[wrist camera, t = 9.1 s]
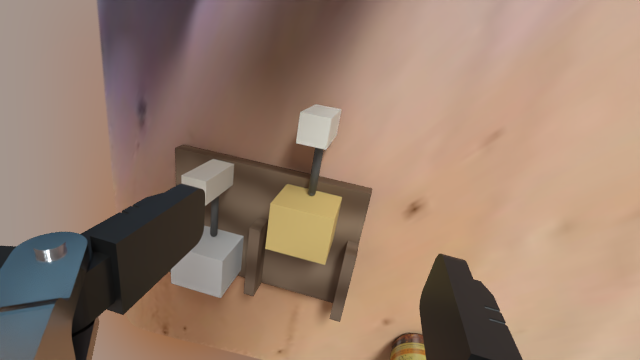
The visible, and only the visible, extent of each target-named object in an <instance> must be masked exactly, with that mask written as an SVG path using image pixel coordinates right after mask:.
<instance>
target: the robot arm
mask: <svg viewBox="0 0 640 360" xmlns="http://www.w3.org/2000/svg"><path fill="white" fill-rule="evenodd" d="M204 220H205V192H204V190H203V189H201V188H197V187H193V186H189V185H186V184H179V185H177V186H175V187H173V188H172V189H170V190H168V191H166V192H165V193H161V194H157V195H154V196H150V197H147V198H145V199H143V200H141V201H139V202H137V203H136V204H134V205H133V207H131V206H130V207H128V208H127V209H125V210H123V211H122V213H120V212H119V213H118V214H116V215H114V216H112V217H110V218H109V219H107V220H105V221H103V222H101V223H100V224H98V225H96V226H94V227H92V228H91V229H89V230H87V231H85V232H84V233H82V234H77V233H73V232H55V233H49V234H44V235H40V236H37V237H34V238H31V239H29V240H27V241H25V242H23V243H22V244H20V245H18V246H17V247H13V246H0V360H92V356H93V351H94V346H95V341H96V336H97V330H98V326H99V319H98V316H99V315H100V314H101V313H103V311H105V310H106V309H107V310H110V311H114V312H116V313H119V314H122V315H124V314H125V313H126V312H127V311H128V310H129V309H130V308H131V307H132V306H133V305H134V304H135V303H136V302H137V301H138V300H139V299H140V298H141V297H142V296H144V295H145V294H146V293H147V292H148V291H149V290H150V289H151V288H152V287H153V286H154V285H155V284H156V283H157V282H158V281H159V280H160V279H161V278H162V277H163V276H165V275H166V274H167V273H168V272H169V271H170V270H171V269H172V268H173V267H174V266H175V265H176V264H177V263H178V262H179V261H180V260H181V259H182V258H183V257H185V256H186V255H187V254H188V253H189V252H190V251H191V250H192V249H193V248H194V247H195V246H196V245H197V244H198V243H199V241H200V239H201V237H202V235H203V232H204ZM420 317H421V325H422V333H423V340H424V348H425V355H426V360H523V359H522V357H521V355H520V353H519V351H518V348H517V346H516V344H515V342H514V340H513V338H512V335H511V333H510V331H509V329H508V327H507V326H506V325H505V323H506V322H505V320H504V318H503V316H502V314H501V313H500V309H499V307H498V305H497V303H496V301H495V298H494V296H493V295H492V294H491V292H490V291H489V290H488V289H487V288H486V287H485V286H484V285H483V284H482V282H481V281H478V280H474V279H473V277H472V275H471V272H470V270H469V267H468V265H467V262H466V261H465V260H462V259H458V258H455V257H451V256H447V255H443V254H439V255H438V256H437V257H436V259H435V262H434V264H433V267H432V269H431V271H430V274H429V276H428V279H427V281H426V284H425V286H424V288H423V291H422V294H421V299H420Z"/></svg>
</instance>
